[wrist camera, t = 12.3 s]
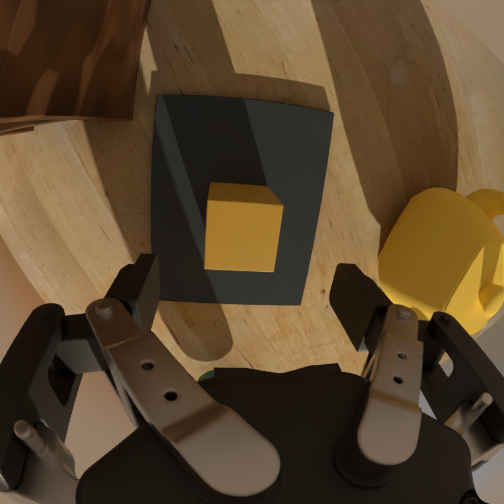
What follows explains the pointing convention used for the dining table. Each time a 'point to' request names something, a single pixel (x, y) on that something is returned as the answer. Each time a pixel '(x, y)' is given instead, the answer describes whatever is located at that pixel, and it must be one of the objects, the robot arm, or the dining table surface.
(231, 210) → the yellow block
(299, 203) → the slate mat
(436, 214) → the teapot
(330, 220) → the dining table surface
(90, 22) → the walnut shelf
